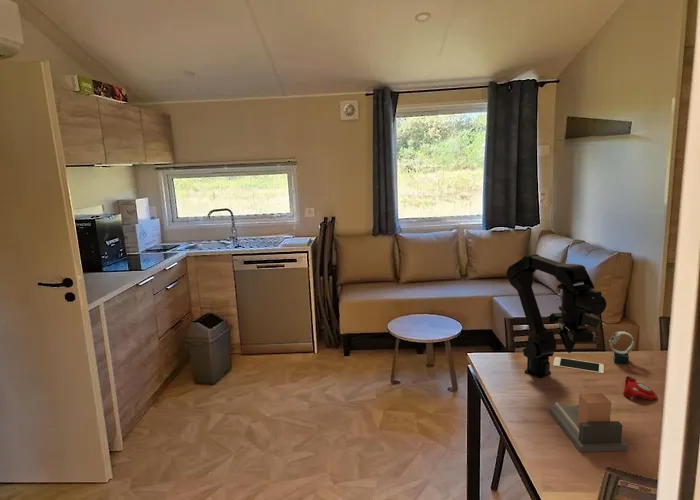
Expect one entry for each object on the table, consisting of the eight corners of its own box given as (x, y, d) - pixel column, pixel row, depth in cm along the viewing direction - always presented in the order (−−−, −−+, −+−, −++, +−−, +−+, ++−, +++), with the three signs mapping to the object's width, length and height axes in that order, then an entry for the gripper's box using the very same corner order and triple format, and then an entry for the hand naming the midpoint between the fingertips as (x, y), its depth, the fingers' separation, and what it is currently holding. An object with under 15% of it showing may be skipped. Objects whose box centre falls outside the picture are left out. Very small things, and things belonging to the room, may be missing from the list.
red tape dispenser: (665, 394, 149) (645, 395, 144) (658, 406, 150) (638, 407, 145) (630, 371, 159) (611, 371, 154) (624, 382, 160) (605, 382, 156)
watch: (607, 356, 179) (609, 328, 176) (632, 359, 175) (634, 330, 173) (608, 362, 174) (610, 333, 171) (633, 365, 170) (636, 336, 168)
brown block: (577, 427, 132) (579, 393, 130) (599, 426, 132) (601, 393, 130) (585, 438, 127) (588, 403, 125) (608, 437, 127) (611, 402, 125)
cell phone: (554, 358, 180) (555, 356, 180) (603, 365, 172) (603, 363, 172) (552, 366, 173) (553, 365, 173) (603, 374, 166) (603, 373, 166)
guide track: (549, 411, 144) (549, 391, 142) (589, 409, 144) (590, 389, 142) (580, 452, 124) (581, 429, 123) (627, 450, 124) (629, 427, 123)
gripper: (613, 314, 141) (610, 364, 144) (583, 295, 159) (580, 340, 162) (575, 315, 141) (572, 365, 144) (549, 296, 159) (547, 341, 162)
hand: (569, 352), depth 153 cm, fingers closed
